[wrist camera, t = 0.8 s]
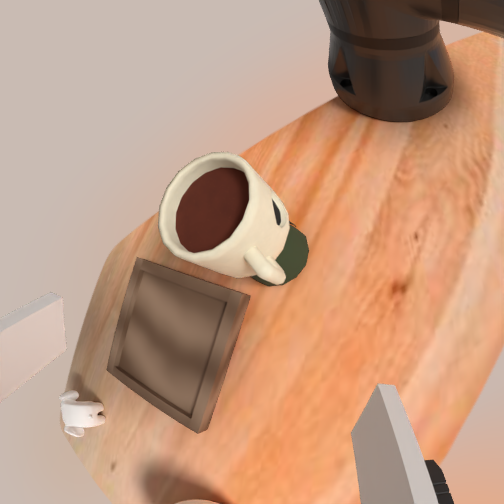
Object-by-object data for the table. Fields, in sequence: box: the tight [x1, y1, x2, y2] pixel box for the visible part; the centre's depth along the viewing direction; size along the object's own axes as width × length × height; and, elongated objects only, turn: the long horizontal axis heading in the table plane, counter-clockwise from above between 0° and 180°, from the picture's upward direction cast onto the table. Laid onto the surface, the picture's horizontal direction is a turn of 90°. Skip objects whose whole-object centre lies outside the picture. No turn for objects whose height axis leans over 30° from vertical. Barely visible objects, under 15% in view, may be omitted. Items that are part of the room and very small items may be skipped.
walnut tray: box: [107, 257, 250, 434], centre depth 31 cm, size 15×15×2 cm
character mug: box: [158, 152, 309, 286], centre depth 23 cm, size 11×7×13 cm, turn 37°
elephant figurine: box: [59, 390, 106, 437], centre depth 32 cm, size 7×8×6 cm
